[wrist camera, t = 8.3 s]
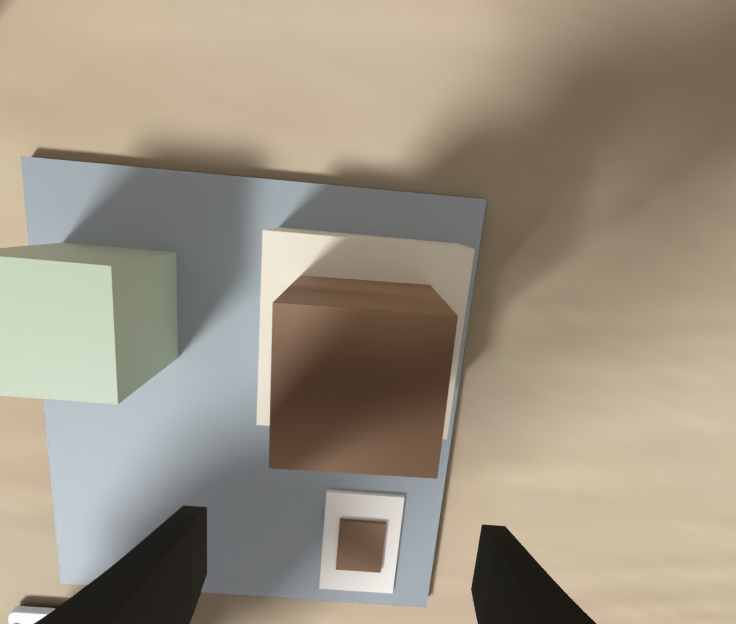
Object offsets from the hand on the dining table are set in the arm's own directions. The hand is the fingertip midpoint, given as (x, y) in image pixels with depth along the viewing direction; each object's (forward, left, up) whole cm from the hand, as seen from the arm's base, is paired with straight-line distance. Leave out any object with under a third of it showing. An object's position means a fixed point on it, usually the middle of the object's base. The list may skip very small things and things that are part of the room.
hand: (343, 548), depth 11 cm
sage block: (+4, +11, -10) cm, 15 cm away
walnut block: (+4, 0, -7) cm, 8 cm away
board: (-1, +5, -10) cm, 11 cm away
